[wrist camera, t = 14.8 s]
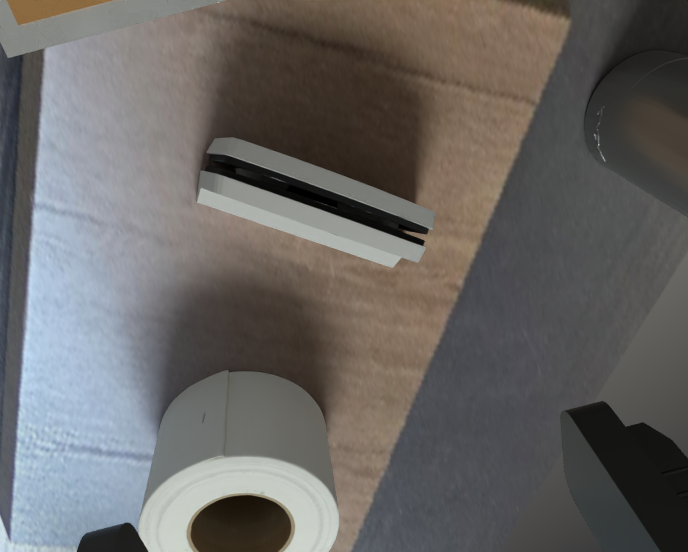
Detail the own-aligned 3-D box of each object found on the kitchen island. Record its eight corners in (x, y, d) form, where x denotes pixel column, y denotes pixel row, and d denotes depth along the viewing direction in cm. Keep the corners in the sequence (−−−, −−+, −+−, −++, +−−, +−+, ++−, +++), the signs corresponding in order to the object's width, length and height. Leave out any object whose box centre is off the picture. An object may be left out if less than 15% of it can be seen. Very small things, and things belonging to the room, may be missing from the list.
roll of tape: (165, 360, 52) (144, 451, 42) (341, 378, 55) (358, 466, 46) (152, 491, 59) (131, 595, 49) (309, 501, 62) (318, 600, 52)
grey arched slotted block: (190, 199, 45) (191, 205, 36) (210, 138, 45) (216, 127, 36) (390, 266, 50) (438, 287, 41) (409, 211, 50) (462, 219, 40)
